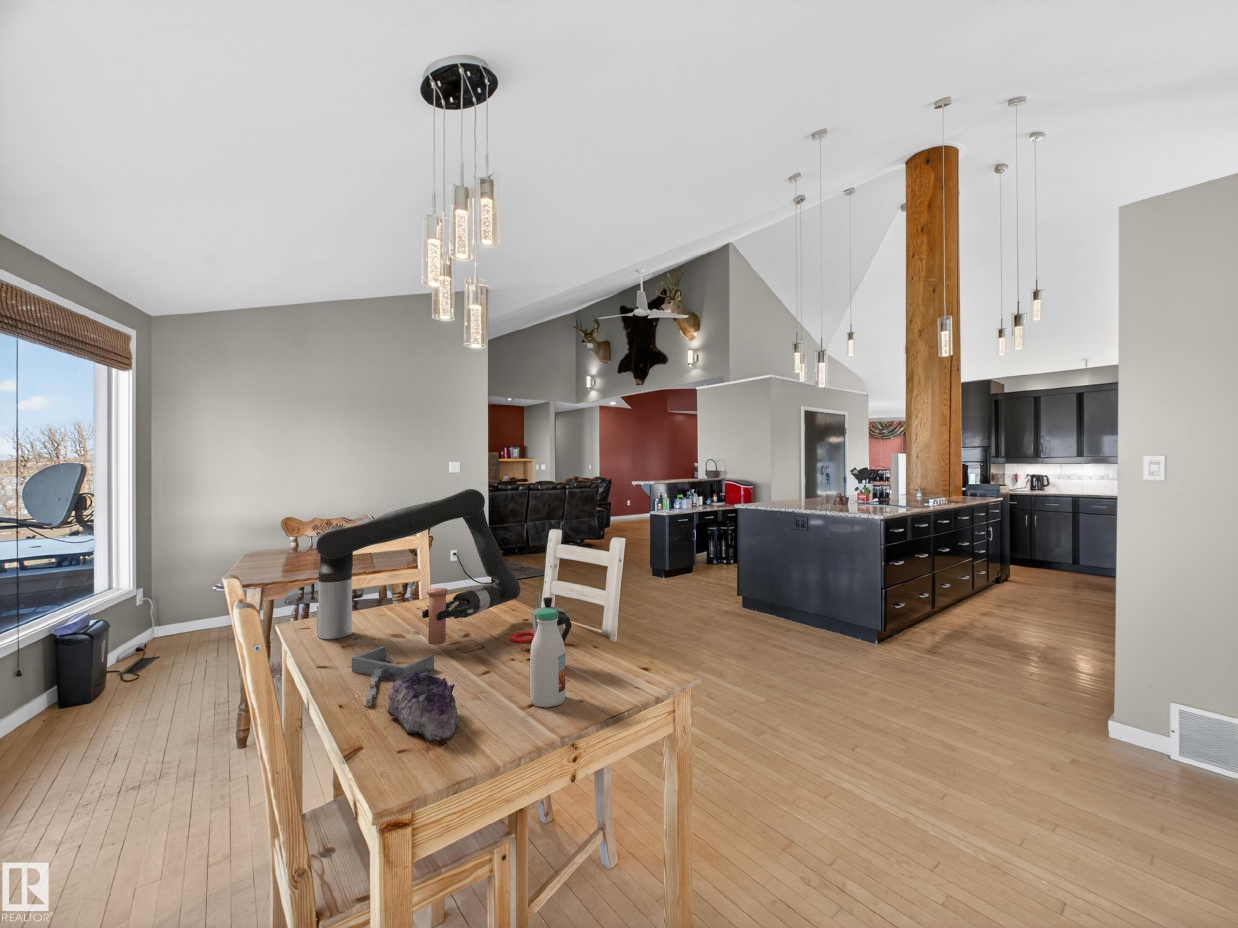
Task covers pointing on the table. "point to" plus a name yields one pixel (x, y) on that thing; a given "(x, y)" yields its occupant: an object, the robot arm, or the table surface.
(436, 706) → the geode
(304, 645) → the table surface
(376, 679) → the chain
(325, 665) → the table surface
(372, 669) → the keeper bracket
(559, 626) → the coffee maker
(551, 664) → the milk bottle
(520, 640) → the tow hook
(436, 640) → the pin
